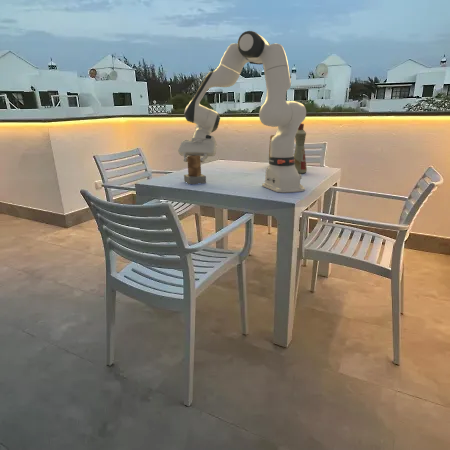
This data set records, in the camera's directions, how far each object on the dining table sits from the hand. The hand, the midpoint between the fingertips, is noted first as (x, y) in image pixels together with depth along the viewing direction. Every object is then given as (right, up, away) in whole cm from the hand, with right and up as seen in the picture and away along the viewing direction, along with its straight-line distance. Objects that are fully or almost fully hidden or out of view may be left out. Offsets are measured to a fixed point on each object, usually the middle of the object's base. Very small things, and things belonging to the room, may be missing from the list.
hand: (193, 161), depth 170 cm
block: (+50, +5, +45) cm, 68 cm away
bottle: (+59, -2, +24) cm, 64 cm away
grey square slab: (0, -10, +4) cm, 11 cm away
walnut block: (0, -7, +3) cm, 7 cm away
